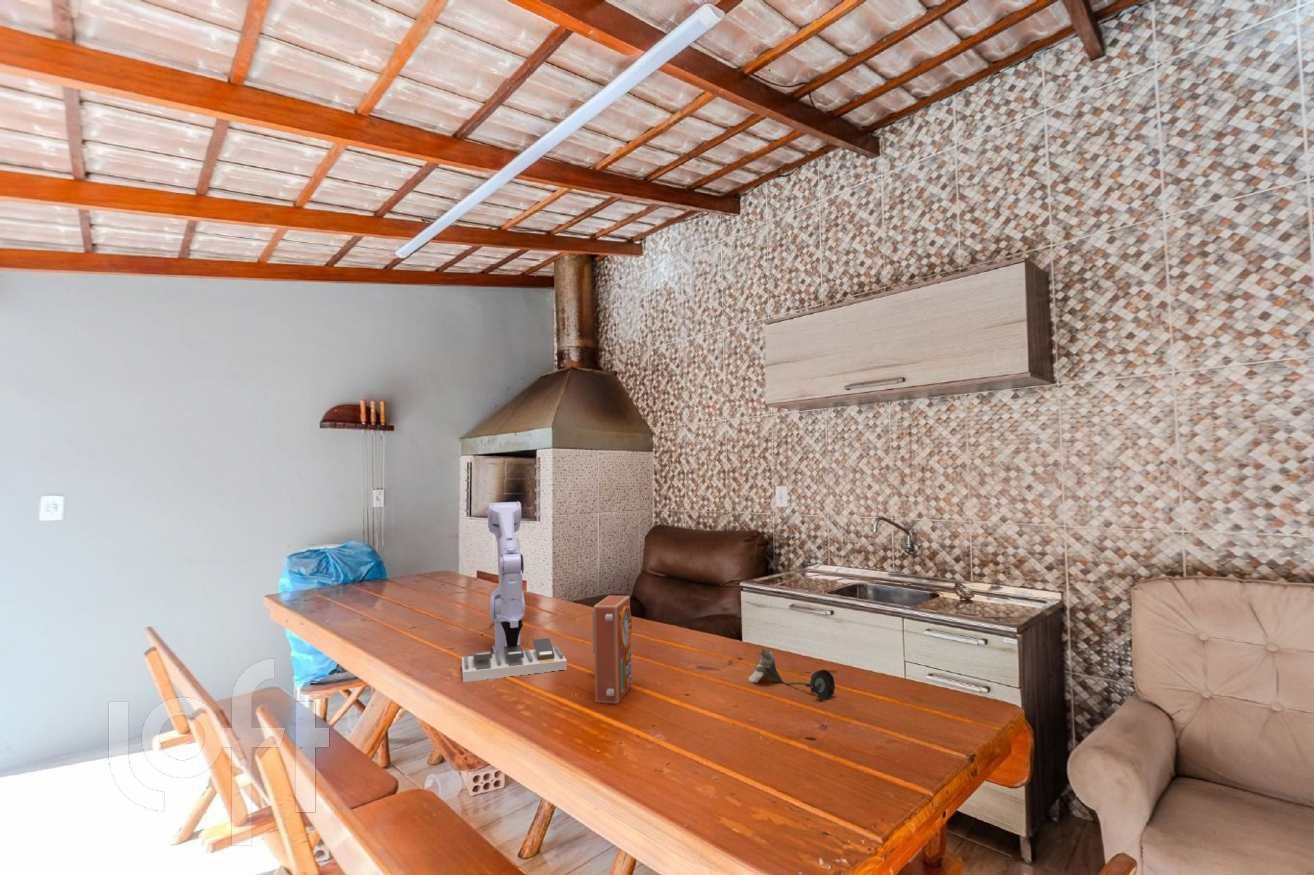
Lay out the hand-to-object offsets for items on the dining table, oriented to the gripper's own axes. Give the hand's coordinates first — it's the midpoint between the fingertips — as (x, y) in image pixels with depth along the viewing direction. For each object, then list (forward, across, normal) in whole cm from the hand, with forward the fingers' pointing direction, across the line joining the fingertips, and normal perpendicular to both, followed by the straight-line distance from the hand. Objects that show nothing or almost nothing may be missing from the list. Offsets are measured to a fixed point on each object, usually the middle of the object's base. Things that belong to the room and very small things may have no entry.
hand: (512, 648), depth 173 cm
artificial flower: (+4, +44, +59) cm, 74 cm away
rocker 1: (0, +4, -8) cm, 9 cm away
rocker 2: (0, +4, +8) cm, 9 cm away
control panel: (+4, +33, +20) cm, 39 cm away
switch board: (+4, +4, 0) cm, 6 cm away
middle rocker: (0, +4, 0) cm, 4 cm away
